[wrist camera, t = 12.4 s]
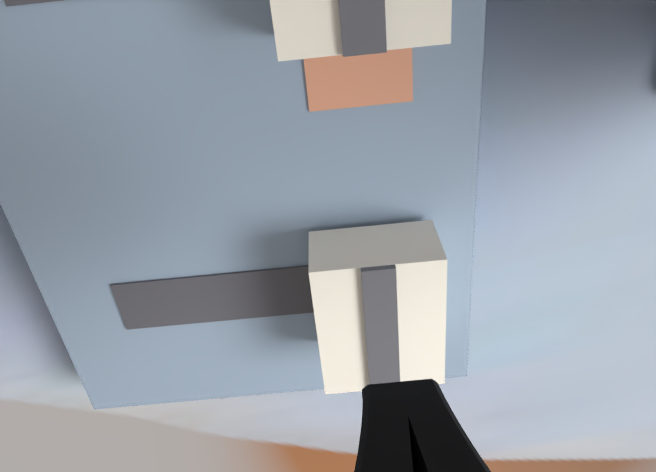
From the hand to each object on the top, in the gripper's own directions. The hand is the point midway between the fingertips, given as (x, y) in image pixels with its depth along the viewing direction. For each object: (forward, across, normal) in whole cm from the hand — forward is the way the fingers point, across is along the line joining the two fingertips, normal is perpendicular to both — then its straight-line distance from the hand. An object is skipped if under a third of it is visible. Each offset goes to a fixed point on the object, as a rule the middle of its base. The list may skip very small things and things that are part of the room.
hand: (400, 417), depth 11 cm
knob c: (+8, 0, +3) cm, 9 cm away
